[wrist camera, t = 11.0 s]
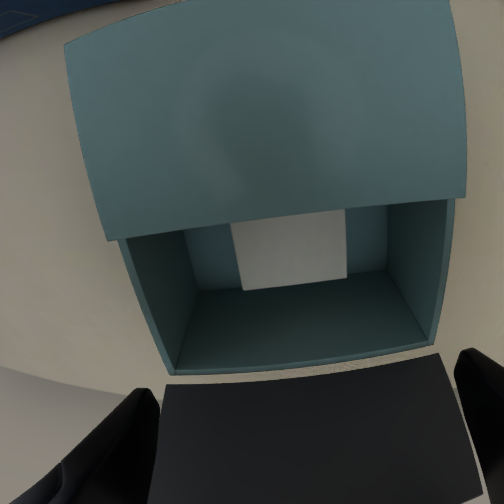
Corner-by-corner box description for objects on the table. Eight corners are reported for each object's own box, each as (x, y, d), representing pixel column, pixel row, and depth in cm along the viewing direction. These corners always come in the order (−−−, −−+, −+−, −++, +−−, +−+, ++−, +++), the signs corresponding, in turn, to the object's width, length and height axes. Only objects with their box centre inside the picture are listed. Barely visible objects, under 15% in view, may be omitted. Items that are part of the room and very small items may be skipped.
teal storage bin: (389, 270, 20) (439, 356, 13) (195, 293, 21) (165, 388, 14) (375, 31, 14) (448, -8, 6) (143, 61, 15) (61, 43, 8)
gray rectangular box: (336, 253, 19) (347, 278, 16) (245, 264, 20) (242, 291, 17) (332, 188, 17) (345, 204, 15) (234, 200, 18) (228, 219, 15)
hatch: (438, 352, 13) (436, 357, 13) (165, 384, 14) (168, 388, 14) (483, 494, 7) (479, 496, 7) (141, 531, 8) (146, 532, 8)
